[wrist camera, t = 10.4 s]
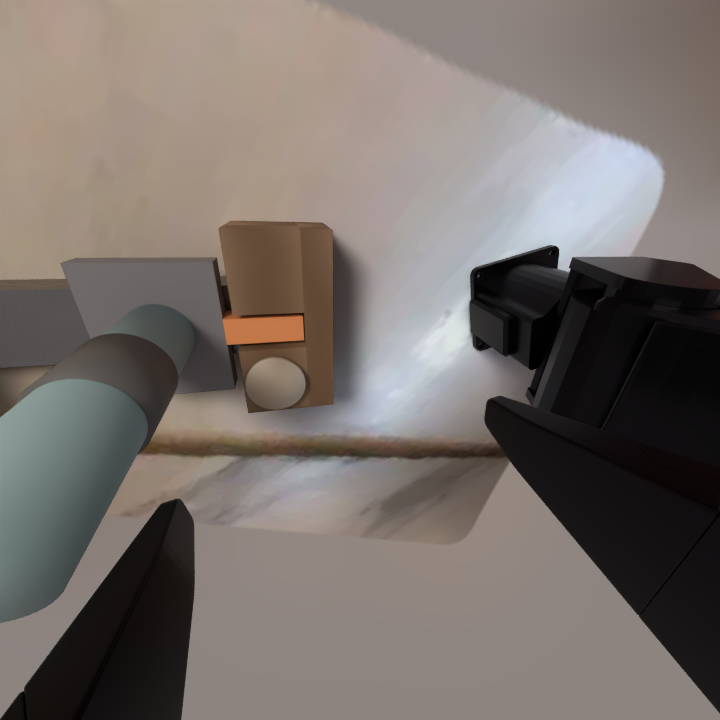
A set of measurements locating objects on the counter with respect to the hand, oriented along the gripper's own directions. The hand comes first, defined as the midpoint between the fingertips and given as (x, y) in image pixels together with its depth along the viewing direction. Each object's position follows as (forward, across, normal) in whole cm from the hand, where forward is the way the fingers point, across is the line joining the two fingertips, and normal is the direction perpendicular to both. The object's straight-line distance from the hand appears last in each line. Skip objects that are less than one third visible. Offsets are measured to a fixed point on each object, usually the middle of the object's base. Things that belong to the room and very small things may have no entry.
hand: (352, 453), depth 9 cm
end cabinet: (+13, 0, 0) cm, 13 cm away
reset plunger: (+11, +2, 0) cm, 11 cm away
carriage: (+12, +7, -1) cm, 13 cm away
